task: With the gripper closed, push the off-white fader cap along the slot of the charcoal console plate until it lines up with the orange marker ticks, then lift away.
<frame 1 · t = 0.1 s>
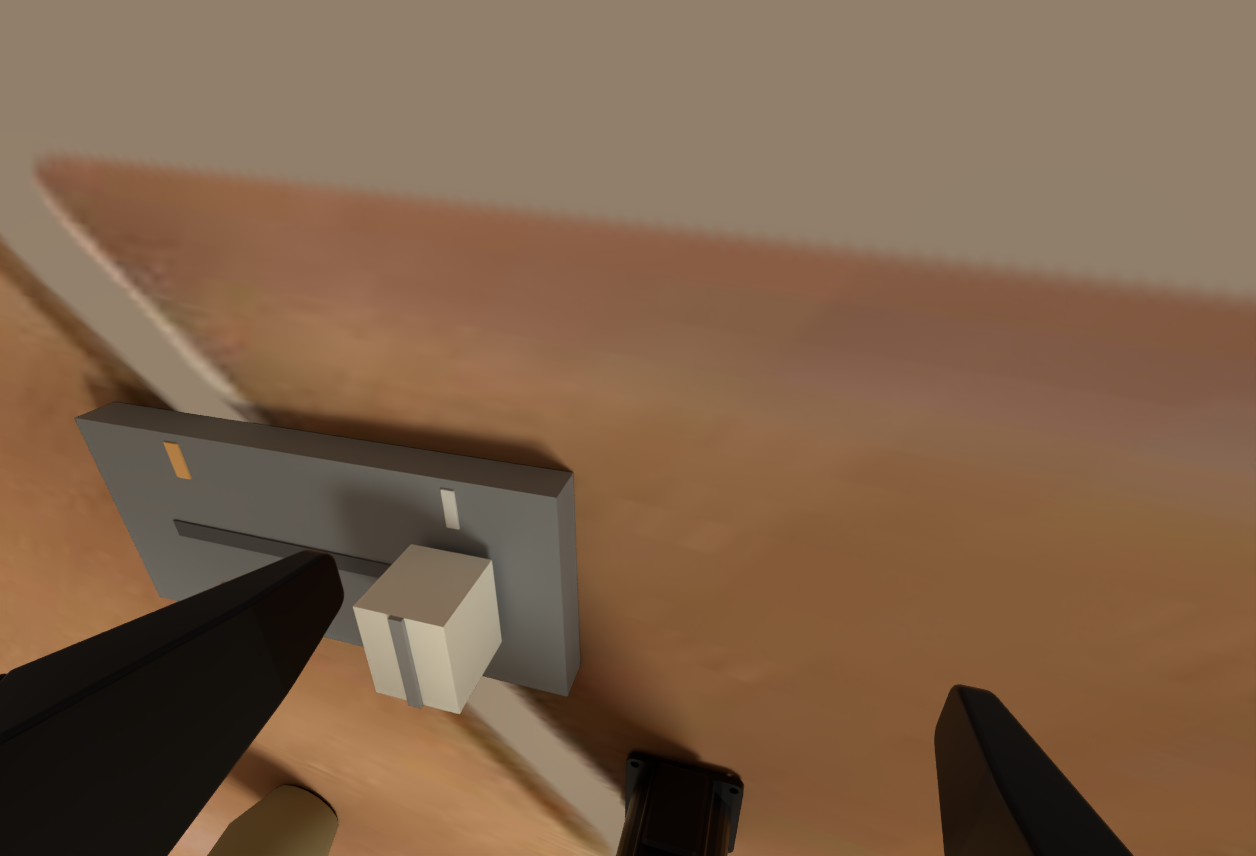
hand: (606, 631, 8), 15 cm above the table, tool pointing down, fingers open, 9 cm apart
fader cap: (433, 627, 25), point 5 cm above the table, slide at 0.0 cm
console plate: (346, 533, 31), on the table
squeeze bottle: (310, 803, 47), on the table
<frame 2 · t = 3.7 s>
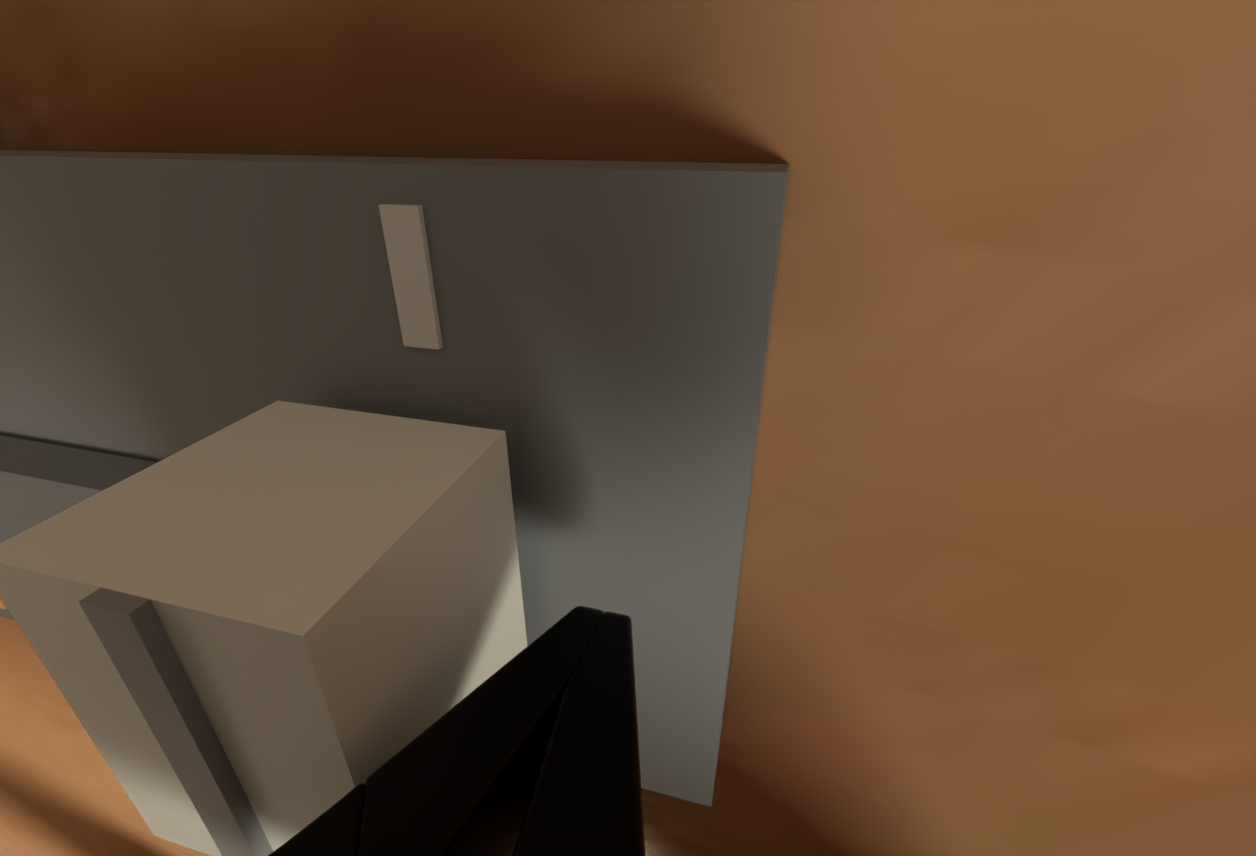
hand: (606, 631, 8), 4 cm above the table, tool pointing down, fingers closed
fader cap: (327, 635, 8), point 5 cm above the table, slide at 0.6 cm, touching gripper
console plate: (197, 428, 14), on the table
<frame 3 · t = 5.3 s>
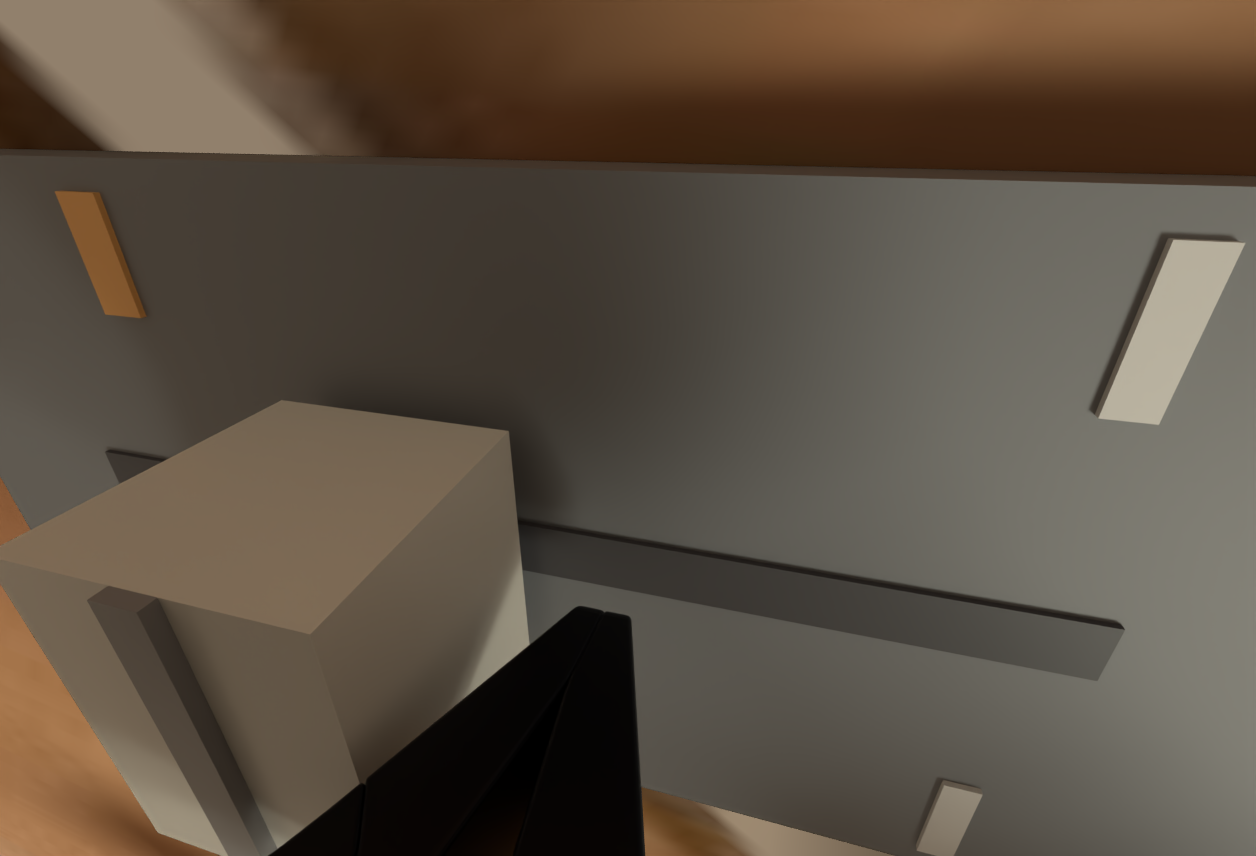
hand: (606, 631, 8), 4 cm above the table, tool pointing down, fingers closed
fader cap: (331, 634, 8), point 5 cm above the table, slide at 9.7 cm, touching gripper
console plate: (556, 482, 12), on the table
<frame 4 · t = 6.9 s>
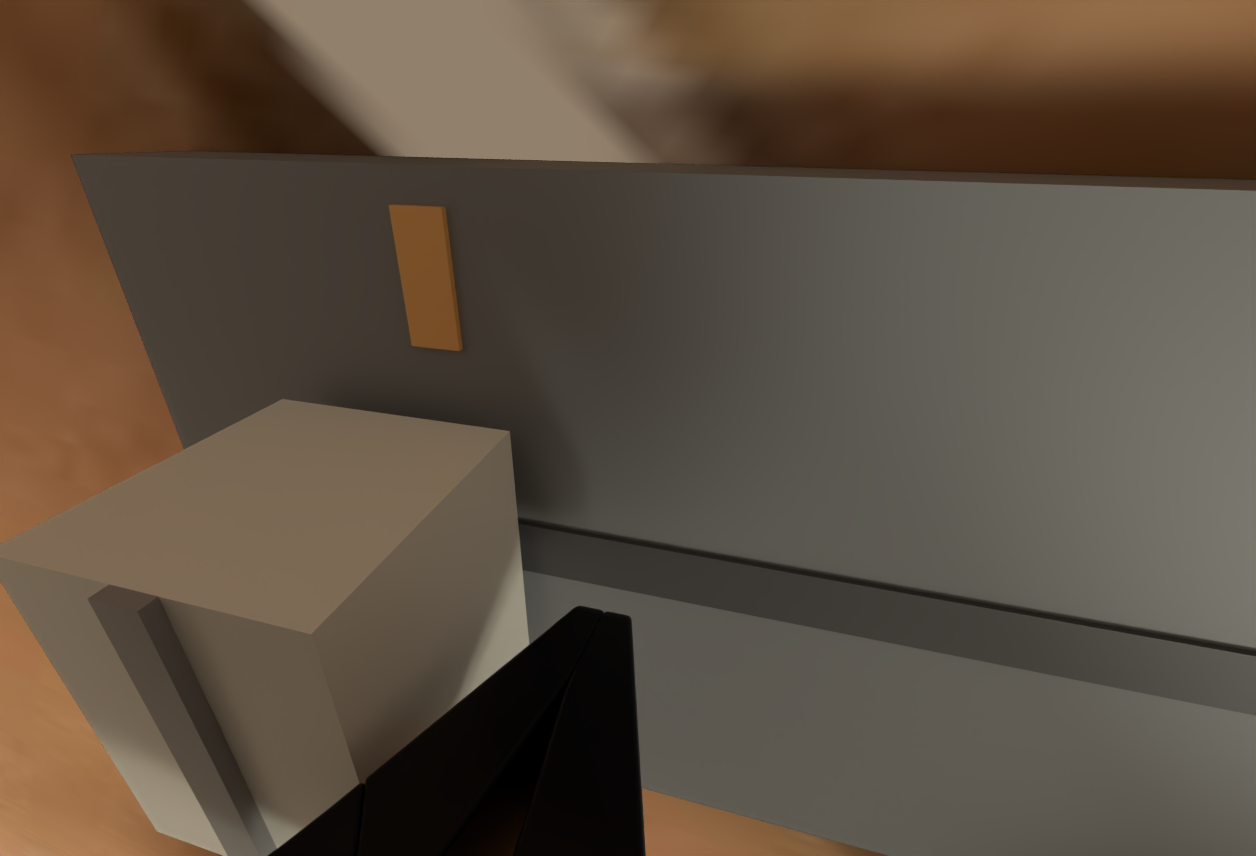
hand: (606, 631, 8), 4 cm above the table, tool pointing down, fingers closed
fader cap: (331, 633, 8), point 5 cm above the table, slide at 15.7 cm, touching gripper
console plate: (869, 533, 11), on the table
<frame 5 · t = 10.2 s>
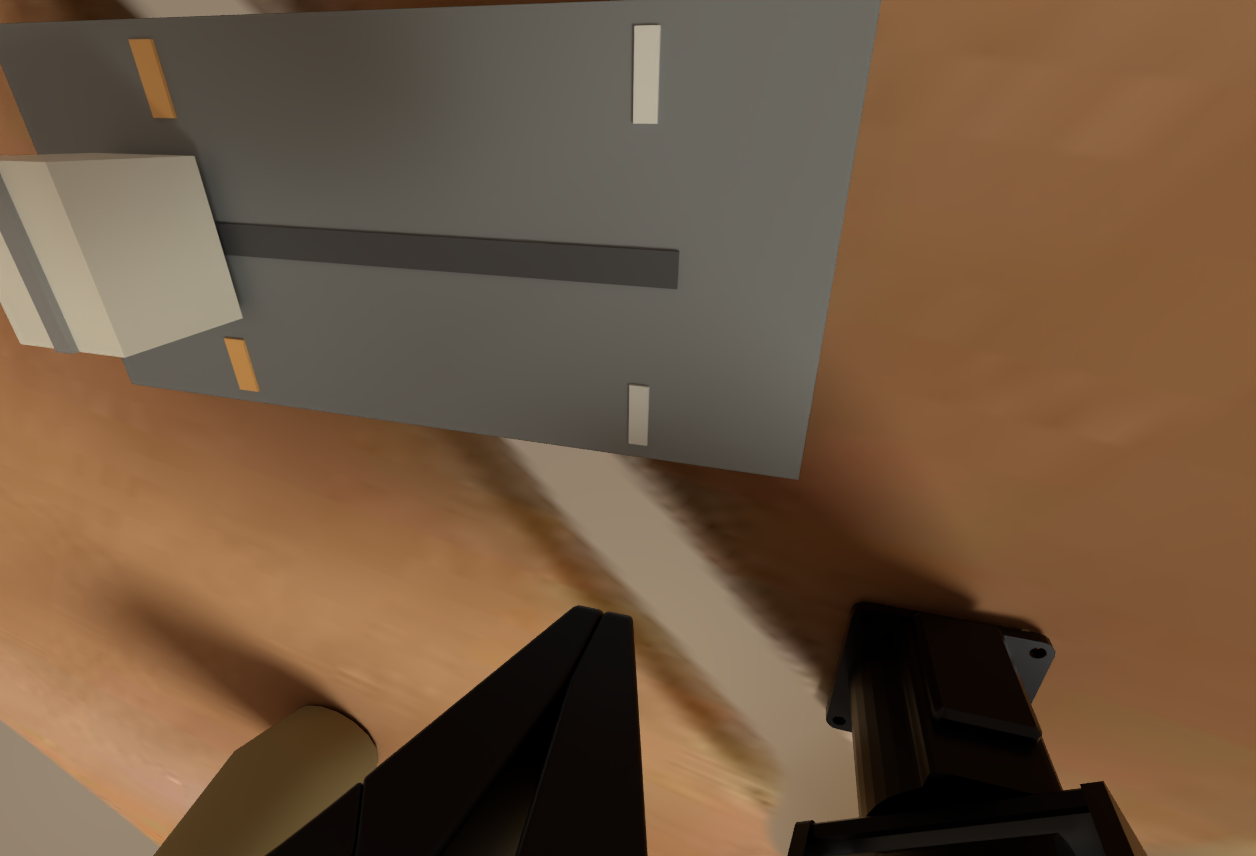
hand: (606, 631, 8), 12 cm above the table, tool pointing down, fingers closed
fader cap: (104, 249, 17), point 5 cm above the table, slide at 15.8 cm
console plate: (424, 239, 19), on the table
squeeze bottle: (340, 733, 36), on the table
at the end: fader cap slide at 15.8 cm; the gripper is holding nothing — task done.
